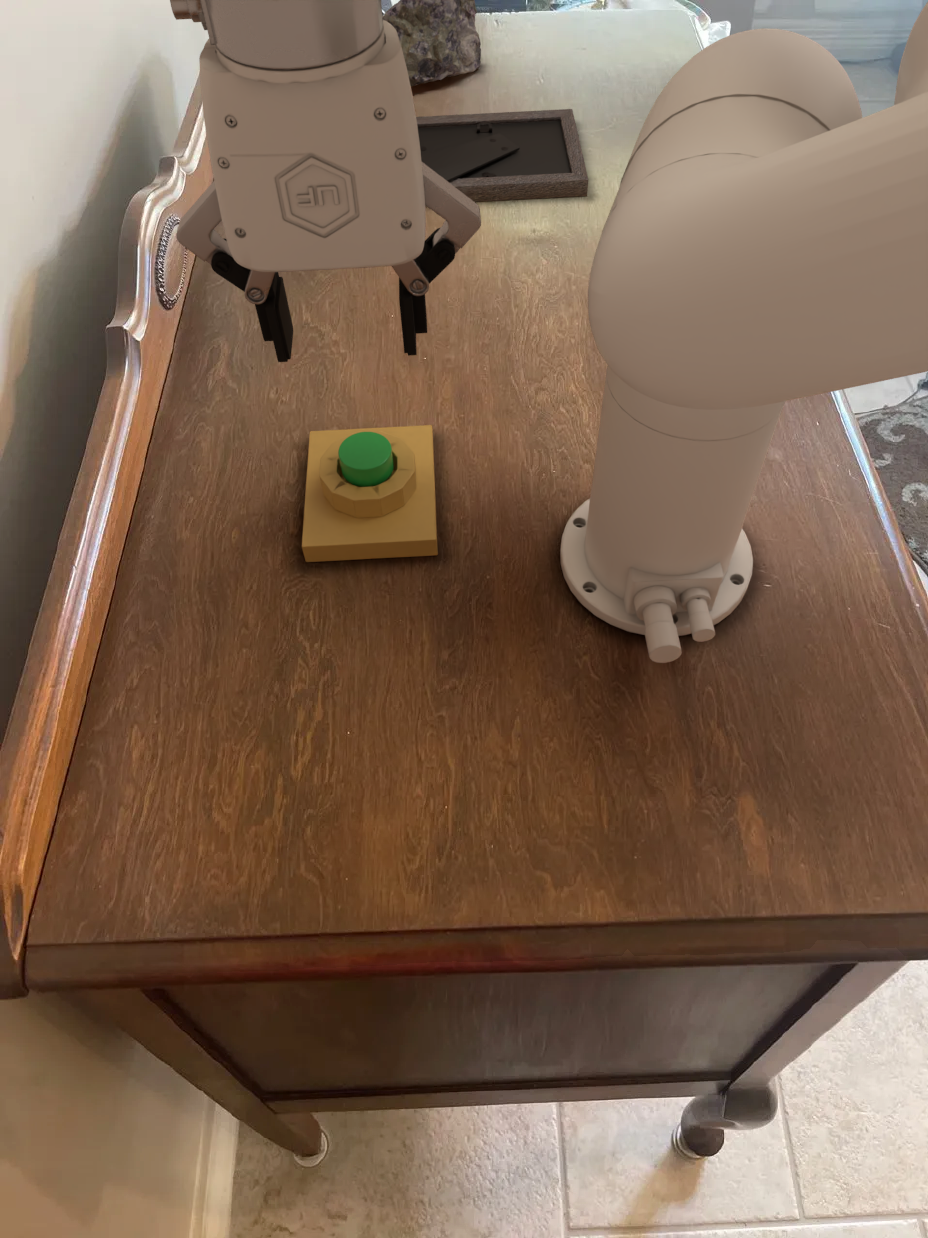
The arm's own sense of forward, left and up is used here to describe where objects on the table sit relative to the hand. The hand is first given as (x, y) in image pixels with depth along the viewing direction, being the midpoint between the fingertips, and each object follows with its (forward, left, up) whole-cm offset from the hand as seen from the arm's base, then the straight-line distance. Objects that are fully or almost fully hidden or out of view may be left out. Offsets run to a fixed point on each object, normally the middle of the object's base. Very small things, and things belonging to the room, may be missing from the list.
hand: (348, 341), depth 54 cm
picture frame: (+44, -11, -14) cm, 47 cm away
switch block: (0, 0, -14) cm, 14 cm away
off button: (0, 0, -11) cm, 11 cm away
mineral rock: (+63, -5, -14) cm, 65 cm away
